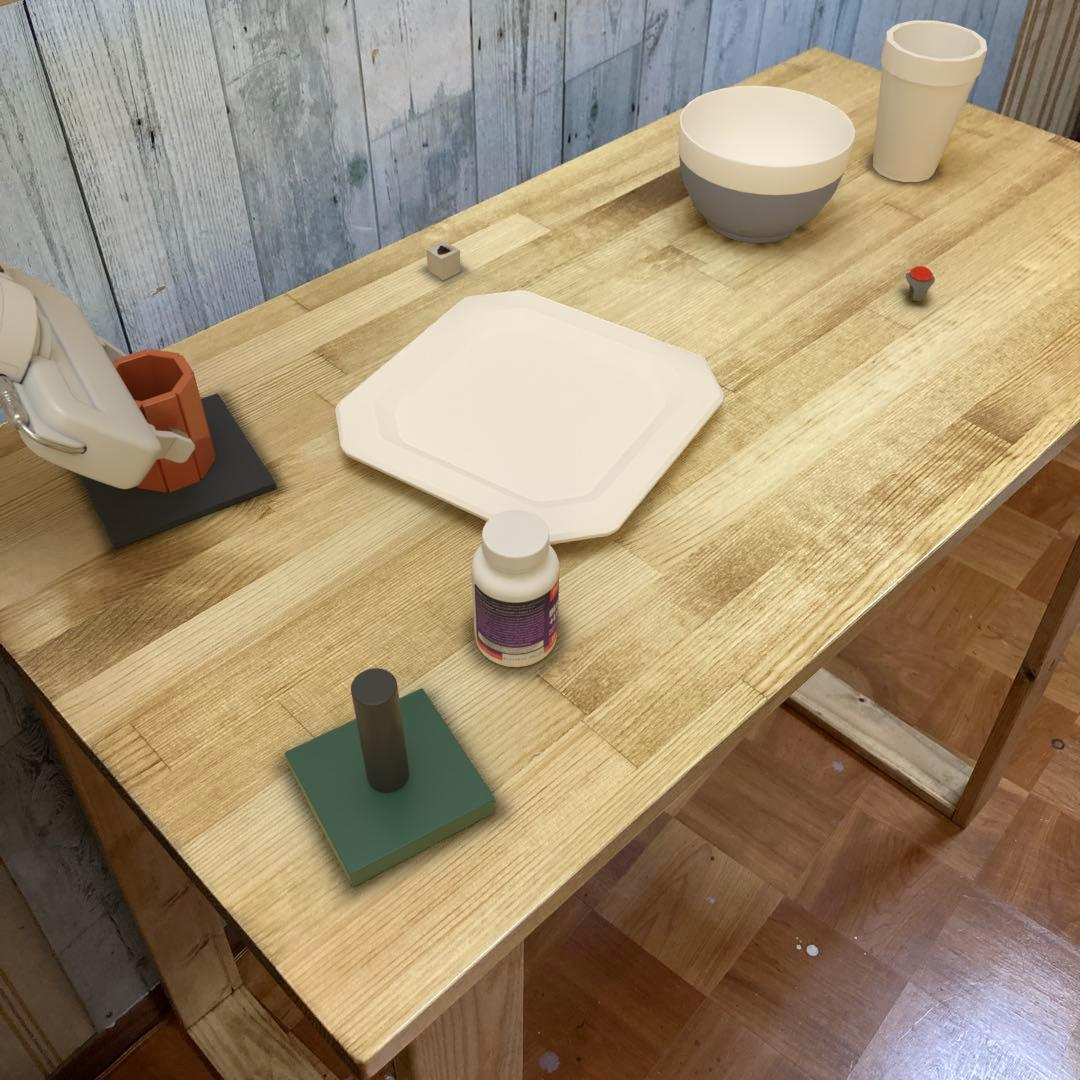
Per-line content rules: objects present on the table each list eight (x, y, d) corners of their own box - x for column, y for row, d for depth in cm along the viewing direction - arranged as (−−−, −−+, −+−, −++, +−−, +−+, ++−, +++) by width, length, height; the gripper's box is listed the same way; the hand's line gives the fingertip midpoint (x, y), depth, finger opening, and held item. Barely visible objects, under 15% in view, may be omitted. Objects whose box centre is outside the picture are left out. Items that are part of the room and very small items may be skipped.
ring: (926, 290, 101) (935, 262, 99) (930, 307, 100) (939, 278, 98) (898, 289, 102) (906, 260, 99) (901, 305, 100) (910, 276, 98)
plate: (586, 584, 77) (587, 562, 75) (305, 451, 86) (301, 429, 84) (743, 391, 91) (747, 369, 90) (489, 295, 100) (488, 273, 99)
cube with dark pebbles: (461, 271, 103) (459, 247, 101) (443, 281, 102) (441, 256, 100) (445, 262, 104) (444, 237, 102) (427, 271, 103) (425, 246, 101)
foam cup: (838, 163, 117) (865, 36, 108) (894, 136, 122) (925, 12, 112) (912, 199, 112) (948, 70, 103) (968, 170, 117) (1007, 43, 107)
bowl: (721, 278, 102) (735, 181, 96) (640, 195, 112) (648, 102, 106) (867, 241, 107) (891, 146, 100) (777, 165, 117) (793, 73, 110)
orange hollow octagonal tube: (143, 502, 81) (114, 416, 75) (116, 453, 85) (86, 367, 79) (226, 472, 83) (203, 386, 77) (196, 425, 87) (172, 339, 81)
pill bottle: (567, 660, 72) (572, 556, 65) (485, 677, 71) (481, 574, 64) (544, 598, 76) (547, 493, 69) (466, 613, 75) (460, 509, 68)
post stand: (352, 888, 61) (329, 790, 54) (287, 765, 67) (259, 662, 59) (496, 812, 65) (492, 710, 57) (423, 701, 70) (412, 595, 63)
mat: (114, 549, 79) (112, 543, 78) (67, 450, 86) (65, 444, 85) (276, 488, 83) (275, 482, 83) (219, 398, 90) (217, 392, 90)
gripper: (44, 391, 63) (242, 460, 74) (-39, 228, 75) (142, 307, 86) (-10, 478, 65) (191, 533, 75) (-83, 304, 77) (100, 373, 87)
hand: (164, 412), depth 81 cm, fingers open, 8 cm apart
